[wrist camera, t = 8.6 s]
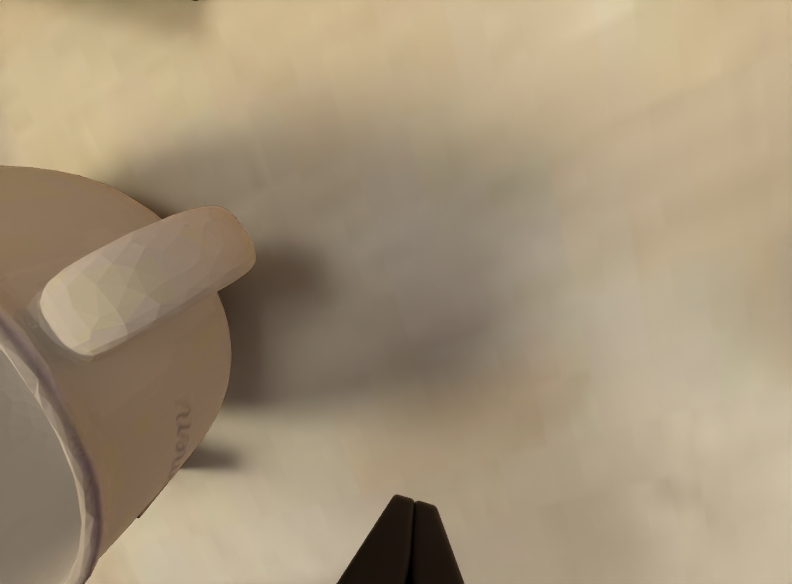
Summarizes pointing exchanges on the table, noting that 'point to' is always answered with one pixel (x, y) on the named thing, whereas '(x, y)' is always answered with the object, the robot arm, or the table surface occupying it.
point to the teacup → (101, 361)
